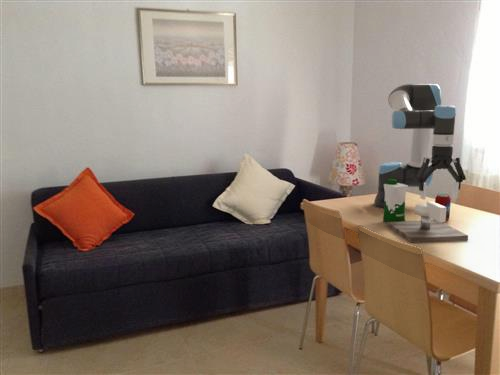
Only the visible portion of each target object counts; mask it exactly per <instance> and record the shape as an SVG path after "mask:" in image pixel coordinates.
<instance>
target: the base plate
mask: <svg viewBox="0 0 500 375" xmlns="http://www.w3.org/2000/svg"><path fill="white" fill-rule="evenodd" d="M420 226H421V220H405V221H400V222H387V223H386V227H387V228H388V229H390V230H392V231H393V232H395V233H396V234H397V235H399V236H400V237H401V238H403V239H404V240H405V241H407V242H409V243H411V244H414V243H416V244H417V243H438V242H439V243H441V242H458V241H459V242H463V241H468V240H469V235H468V234H466V233H465V232H462V231H460V230H458V229H456V228H454V227H452V226H450V225H449V224H446V223H445V222H438V221H436V220H434V219H431V227H430V229H429V230H424V229H421V228H420Z"/></svg>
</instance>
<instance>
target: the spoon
mask: <svg viewBox="0 0 500 375" xmlns="http://www.w3.org/2000/svg"><path fill="white" fill-rule="evenodd" d="M414 208H415V209H414V214H415V215H417V216H420V217H421V216H425V217H430V218H431V220H436V221H438V222H443V223H446V208H447V207H444V206H442V205H440V204H438V203H435V201H432V200H430V201H428V200H427V201H426V203H423V202H422V203H421V202H420V203H417V204H415V207H414Z"/></svg>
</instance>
